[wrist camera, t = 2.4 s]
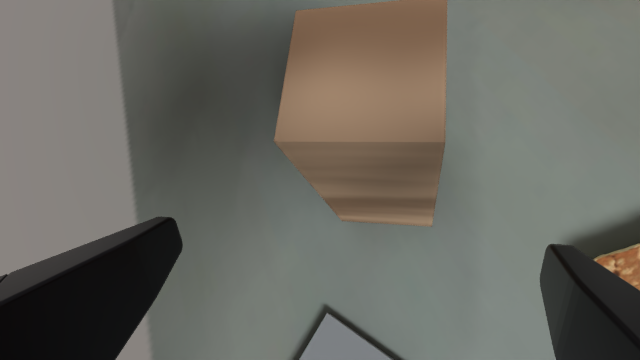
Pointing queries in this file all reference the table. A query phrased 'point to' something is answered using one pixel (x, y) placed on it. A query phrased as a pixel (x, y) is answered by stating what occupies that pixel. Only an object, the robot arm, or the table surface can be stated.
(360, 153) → the walnut block
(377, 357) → the card
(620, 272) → the shard
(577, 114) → the table surface
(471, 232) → the table surface
